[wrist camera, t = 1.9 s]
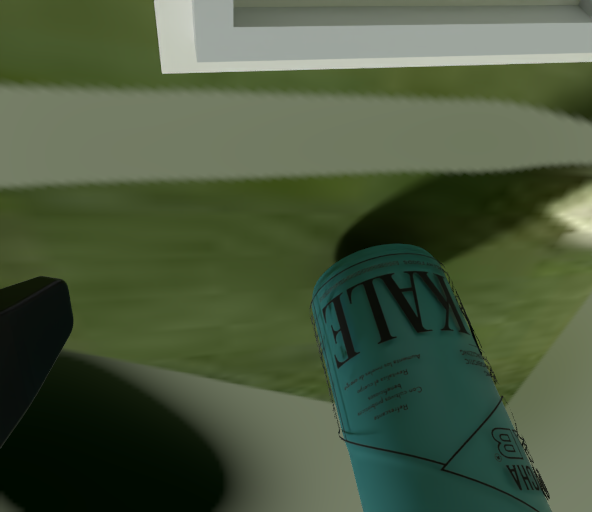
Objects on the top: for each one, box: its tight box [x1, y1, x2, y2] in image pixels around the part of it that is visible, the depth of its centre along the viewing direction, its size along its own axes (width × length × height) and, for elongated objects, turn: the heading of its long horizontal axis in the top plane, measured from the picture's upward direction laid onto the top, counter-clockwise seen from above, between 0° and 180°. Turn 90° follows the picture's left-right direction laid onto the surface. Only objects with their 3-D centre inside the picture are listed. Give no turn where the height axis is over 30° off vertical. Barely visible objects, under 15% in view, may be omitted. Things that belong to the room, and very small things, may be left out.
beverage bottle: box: [310, 244, 552, 512], centre depth 20 cm, size 6×7×20 cm
